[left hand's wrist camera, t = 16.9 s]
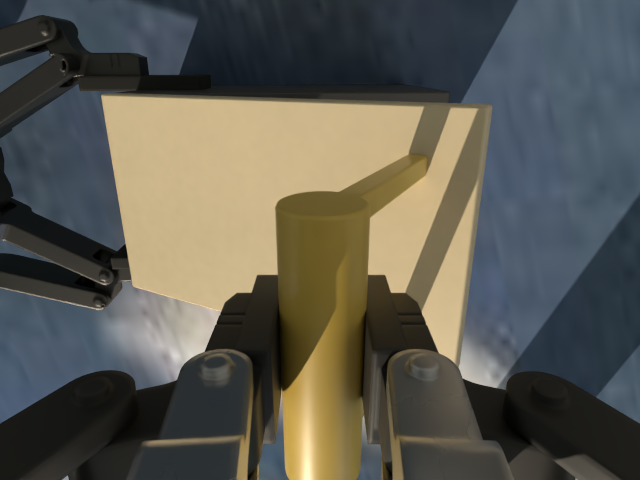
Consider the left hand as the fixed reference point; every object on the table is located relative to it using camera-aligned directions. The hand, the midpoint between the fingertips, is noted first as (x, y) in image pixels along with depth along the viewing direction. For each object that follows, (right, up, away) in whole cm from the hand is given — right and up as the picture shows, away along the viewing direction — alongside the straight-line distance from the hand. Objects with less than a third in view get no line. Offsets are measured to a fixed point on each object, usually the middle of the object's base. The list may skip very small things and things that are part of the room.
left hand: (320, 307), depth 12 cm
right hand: (-6, +6, +16) cm, 18 cm away
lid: (-2, +3, +8) cm, 8 cm away
